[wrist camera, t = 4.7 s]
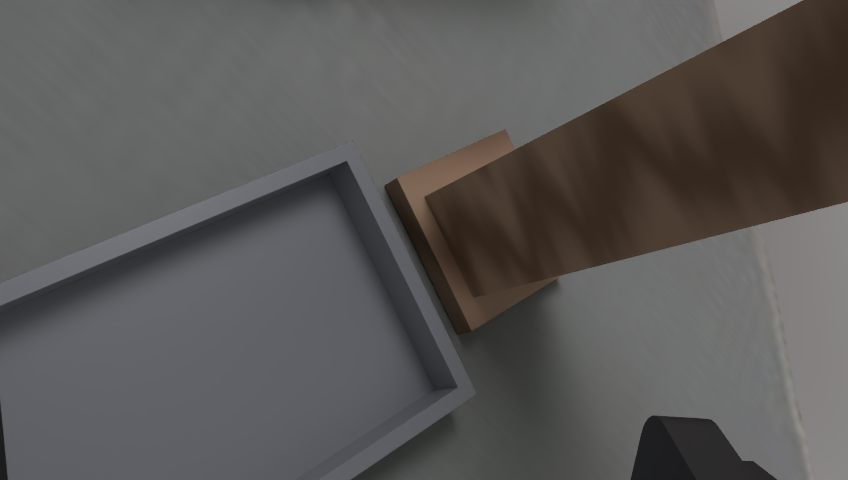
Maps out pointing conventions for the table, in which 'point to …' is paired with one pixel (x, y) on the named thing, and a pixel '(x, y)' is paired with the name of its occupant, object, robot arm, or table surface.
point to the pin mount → (641, 168)
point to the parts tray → (229, 341)
